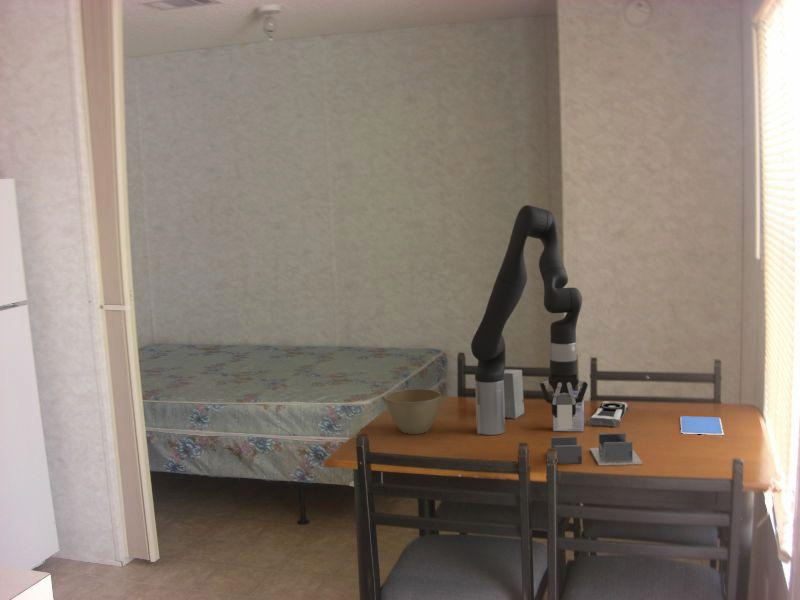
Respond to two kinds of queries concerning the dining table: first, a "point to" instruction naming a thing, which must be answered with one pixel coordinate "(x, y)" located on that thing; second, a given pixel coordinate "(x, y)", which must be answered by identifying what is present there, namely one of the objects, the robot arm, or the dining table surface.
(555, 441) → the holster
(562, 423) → the plug
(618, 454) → the block
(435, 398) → the flower pot
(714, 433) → the tablet computer
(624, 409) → the graphics card
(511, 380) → the skincare box
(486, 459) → the dining table surface
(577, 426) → the ink cartridge box
